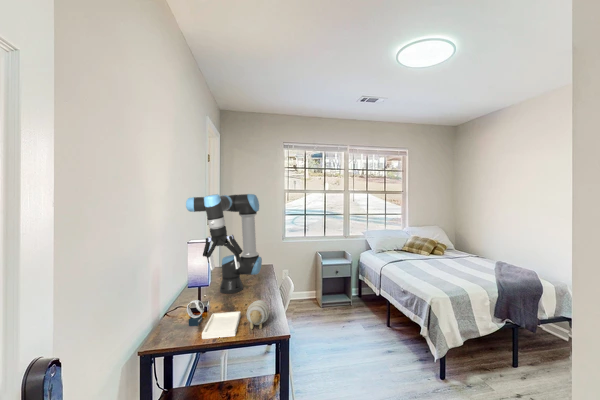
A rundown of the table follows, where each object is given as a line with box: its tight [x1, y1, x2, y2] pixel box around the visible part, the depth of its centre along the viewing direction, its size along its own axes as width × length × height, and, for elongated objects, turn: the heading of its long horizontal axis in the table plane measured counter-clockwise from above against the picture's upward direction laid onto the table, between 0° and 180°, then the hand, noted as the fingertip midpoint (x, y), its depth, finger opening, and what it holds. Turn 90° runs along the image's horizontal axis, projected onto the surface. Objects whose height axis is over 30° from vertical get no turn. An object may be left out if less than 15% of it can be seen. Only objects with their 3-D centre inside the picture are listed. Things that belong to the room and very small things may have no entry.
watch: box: [186, 299, 205, 327], centre depth 124 cm, size 6×8×11 cm
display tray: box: [201, 310, 242, 340], centre depth 120 cm, size 20×14×2 cm
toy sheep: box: [246, 299, 270, 330], centre depth 121 cm, size 11×17×11 cm, turn 1°
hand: (225, 268), depth 124 cm, fingers open, 13 cm apart
